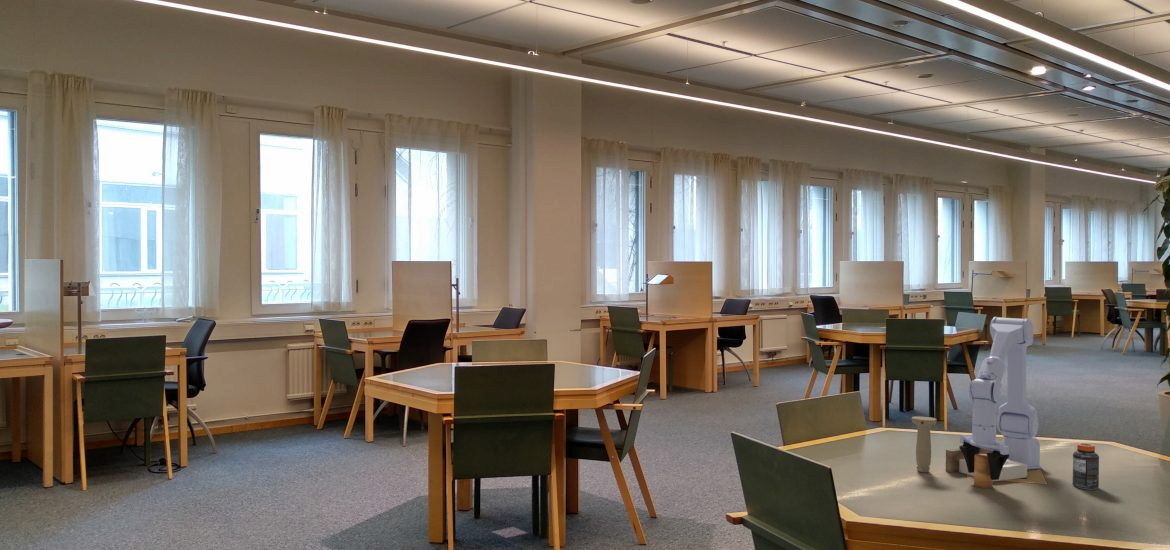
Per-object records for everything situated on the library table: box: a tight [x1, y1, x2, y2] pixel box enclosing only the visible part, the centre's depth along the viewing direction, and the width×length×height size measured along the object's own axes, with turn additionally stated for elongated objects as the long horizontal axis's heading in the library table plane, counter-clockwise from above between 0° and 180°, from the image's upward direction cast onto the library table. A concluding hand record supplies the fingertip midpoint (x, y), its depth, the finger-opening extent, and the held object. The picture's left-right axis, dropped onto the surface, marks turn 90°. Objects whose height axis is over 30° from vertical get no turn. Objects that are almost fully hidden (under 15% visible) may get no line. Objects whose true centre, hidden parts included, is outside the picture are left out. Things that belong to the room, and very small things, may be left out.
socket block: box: [959, 459, 1028, 482], centre depth 237 cm, size 13×11×4 cm
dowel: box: [973, 454, 994, 489], centre depth 225 cm, size 4×4×8 cm
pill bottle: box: [1072, 442, 1100, 491], centre depth 224 cm, size 6×6×11 cm
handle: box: [911, 415, 937, 474], centre depth 240 cm, size 5×6×15 cm
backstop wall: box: [945, 447, 993, 473], centre depth 243 cm, size 19×2×6 cm, turn 110°
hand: (983, 475), depth 225 cm, fingers open, 7 cm apart
